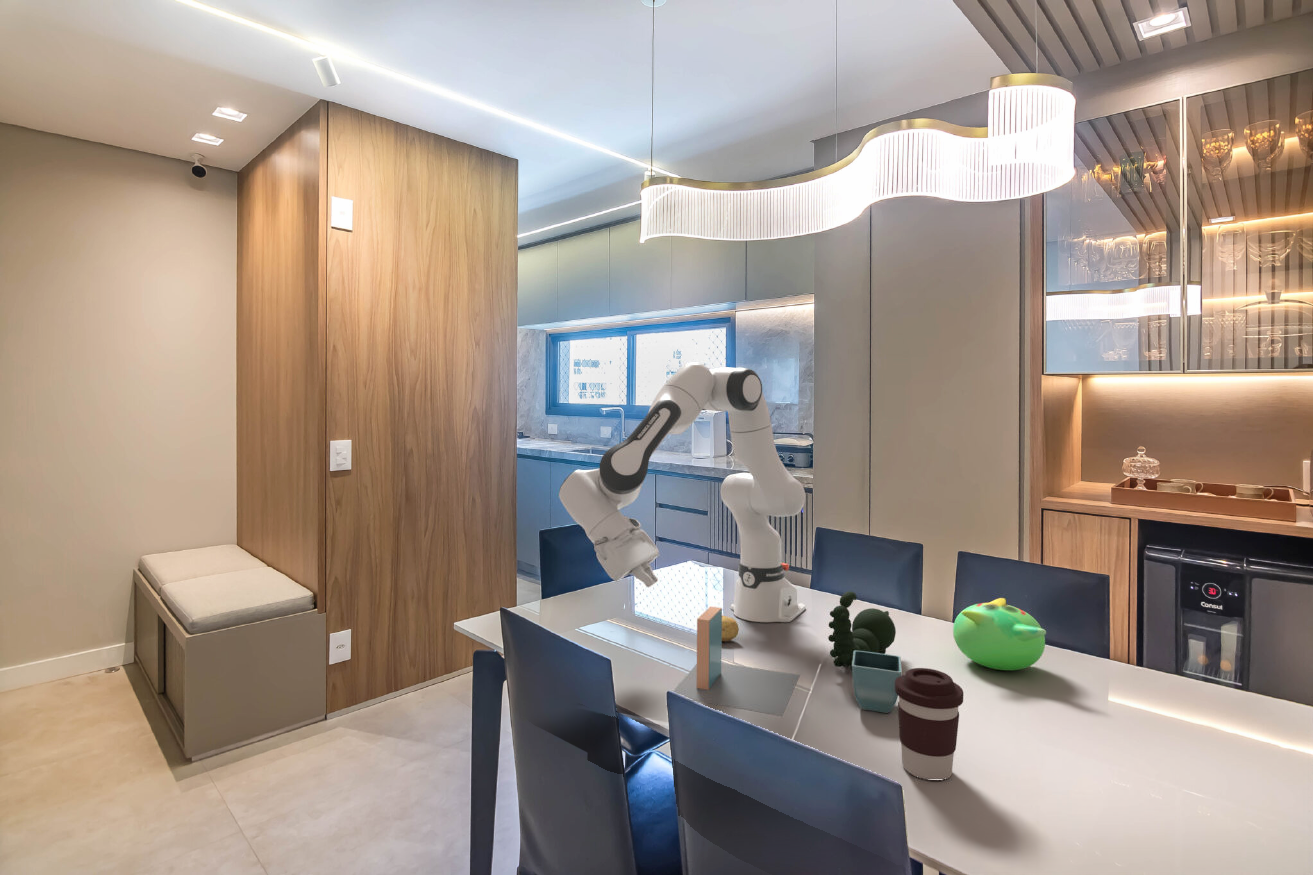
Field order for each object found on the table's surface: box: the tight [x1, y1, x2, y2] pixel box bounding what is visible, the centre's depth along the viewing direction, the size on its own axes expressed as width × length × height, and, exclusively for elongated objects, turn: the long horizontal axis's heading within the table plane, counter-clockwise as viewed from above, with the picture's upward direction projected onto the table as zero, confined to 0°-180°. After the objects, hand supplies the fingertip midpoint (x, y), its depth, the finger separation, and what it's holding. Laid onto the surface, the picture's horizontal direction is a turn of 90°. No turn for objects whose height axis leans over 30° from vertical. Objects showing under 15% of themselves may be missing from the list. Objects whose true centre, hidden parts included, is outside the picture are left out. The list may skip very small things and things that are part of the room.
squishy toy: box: [952, 597, 1047, 671], centre depth 144 cm, size 18×17×15 cm
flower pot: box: [851, 650, 903, 714], centre depth 124 cm, size 9×9×9 cm
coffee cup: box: [895, 667, 964, 780], centre depth 102 cm, size 10×10×15 cm
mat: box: [673, 662, 800, 717], centre depth 132 cm, size 22×20×1 cm
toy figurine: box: [827, 590, 897, 672], centre depth 146 cm, size 9×19×25 cm
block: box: [696, 606, 723, 690], centre depth 134 cm, size 3×9×14 cm, turn 158°
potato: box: [722, 614, 740, 642], centre depth 160 cm, size 7×11×6 cm, turn 45°
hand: (653, 584), depth 138 cm, fingers closed
